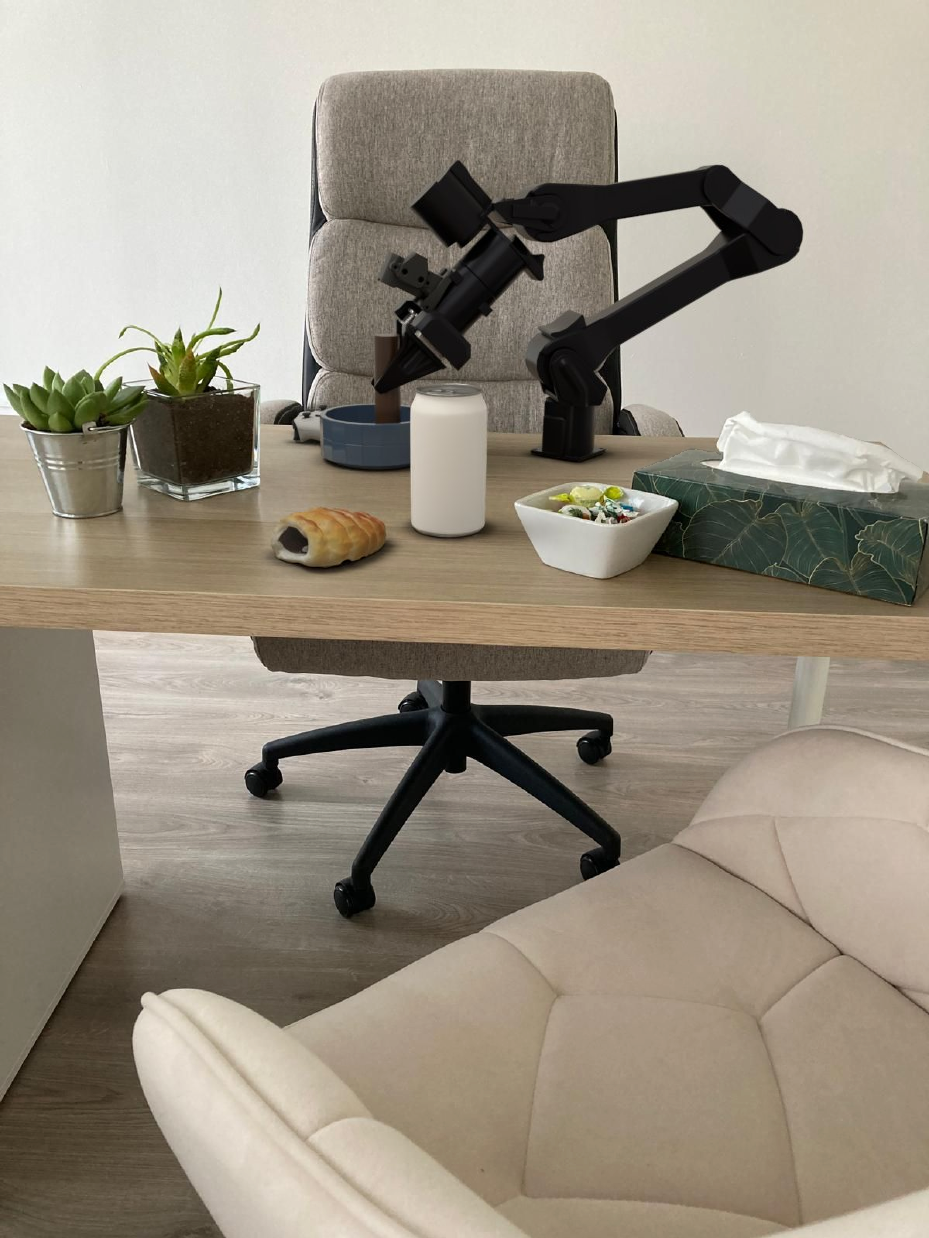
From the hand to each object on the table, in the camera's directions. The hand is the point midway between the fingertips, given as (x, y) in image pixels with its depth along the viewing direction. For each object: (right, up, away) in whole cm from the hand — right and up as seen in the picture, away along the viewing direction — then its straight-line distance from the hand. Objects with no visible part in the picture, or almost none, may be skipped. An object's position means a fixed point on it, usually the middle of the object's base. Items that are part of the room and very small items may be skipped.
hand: (375, 388), depth 111 cm
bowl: (0, -7, +3) cm, 8 cm away
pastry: (-1, -20, -28) cm, 35 cm away
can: (+8, -17, -21) cm, 28 cm away
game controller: (-7, -3, +12) cm, 15 cm away
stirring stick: (+1, -6, +3) cm, 7 cm away
